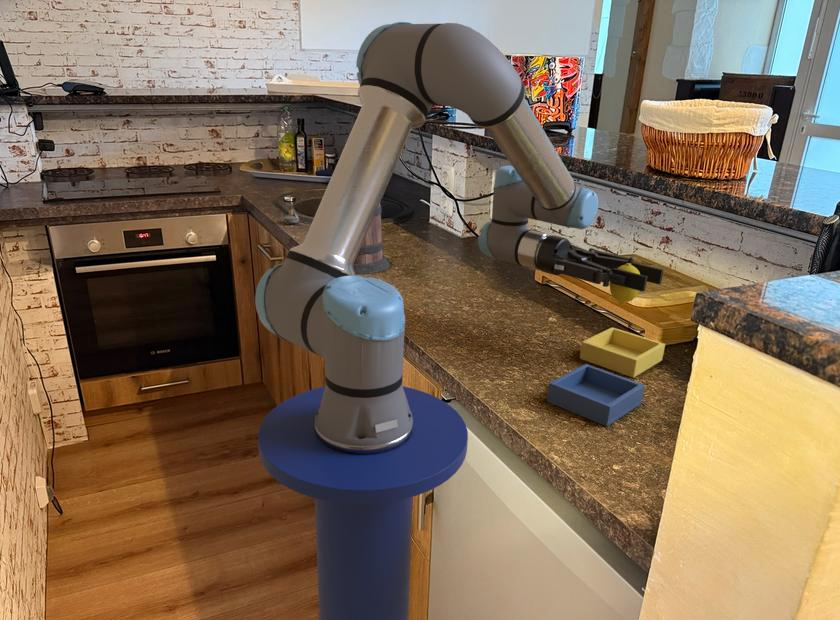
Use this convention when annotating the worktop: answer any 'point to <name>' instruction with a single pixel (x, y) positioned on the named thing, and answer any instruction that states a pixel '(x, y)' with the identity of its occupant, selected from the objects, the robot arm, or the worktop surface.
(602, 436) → the worktop surface
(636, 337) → the yellow bin
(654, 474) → the worktop surface
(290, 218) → the figurine
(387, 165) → the robot arm
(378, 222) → the tankard
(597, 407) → the blue bin
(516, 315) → the worktop surface
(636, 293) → the lemon
